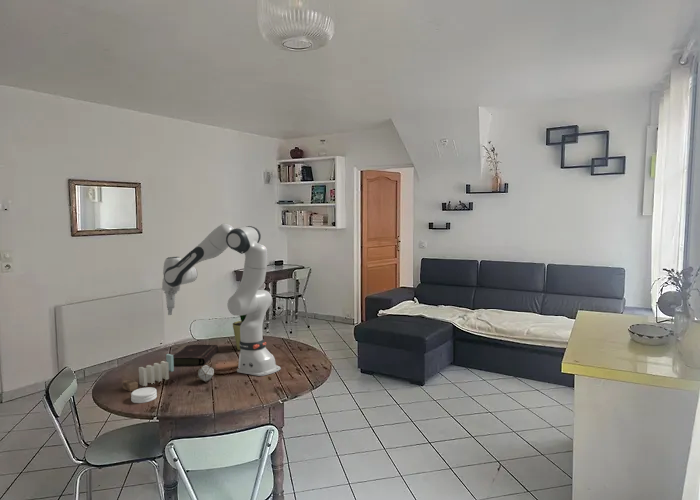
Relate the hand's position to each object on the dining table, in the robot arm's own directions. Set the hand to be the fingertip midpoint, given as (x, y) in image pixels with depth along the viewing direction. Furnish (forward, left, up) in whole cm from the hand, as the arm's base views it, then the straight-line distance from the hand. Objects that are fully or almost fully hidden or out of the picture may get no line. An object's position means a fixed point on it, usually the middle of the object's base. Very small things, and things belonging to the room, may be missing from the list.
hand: (169, 312), depth 245 cm
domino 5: (-12, +8, -27) cm, 30 cm away
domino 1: (-21, +27, -27) cm, 43 cm away
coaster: (-37, +35, -27) cm, 58 cm away
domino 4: (-21, +16, -27) cm, 38 cm away
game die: (-41, +7, -27) cm, 50 cm away
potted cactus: (-12, -41, -27) cm, 50 cm away
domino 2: (-21, +23, -27) cm, 41 cm away
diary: (-5, -11, -28) cm, 30 cm away
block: (-21, +33, -27) cm, 47 cm away
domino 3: (-21, +20, -27) cm, 39 cm away
